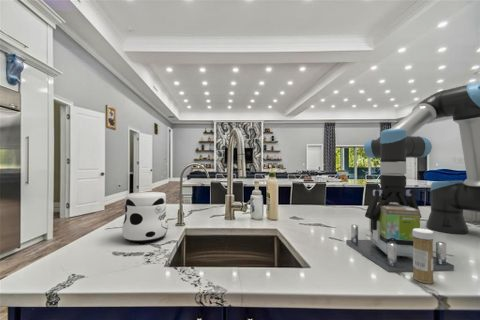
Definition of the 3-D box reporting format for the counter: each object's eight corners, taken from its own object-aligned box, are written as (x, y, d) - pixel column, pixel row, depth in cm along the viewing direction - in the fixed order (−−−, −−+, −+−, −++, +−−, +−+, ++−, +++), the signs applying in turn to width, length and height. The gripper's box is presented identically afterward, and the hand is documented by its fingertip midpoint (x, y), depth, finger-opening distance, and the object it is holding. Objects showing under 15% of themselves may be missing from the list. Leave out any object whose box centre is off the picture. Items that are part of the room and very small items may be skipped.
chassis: (395, 242, 95) (395, 223, 95) (453, 270, 71) (453, 244, 71) (346, 243, 94) (346, 224, 94) (388, 272, 70) (388, 246, 70)
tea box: (421, 258, 74) (421, 209, 74) (385, 255, 76) (385, 208, 76) (399, 242, 89) (398, 201, 89) (369, 240, 91) (369, 200, 91)
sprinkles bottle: (438, 283, 63) (438, 231, 64) (424, 285, 62) (424, 232, 63) (421, 275, 68) (421, 227, 68) (408, 276, 67) (408, 228, 67)
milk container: (176, 238, 99) (176, 194, 100) (133, 249, 87) (134, 198, 87) (155, 229, 111) (155, 190, 111) (115, 238, 99) (115, 194, 99)
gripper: (416, 174, 87) (416, 235, 87) (353, 174, 86) (353, 236, 85) (434, 175, 80) (435, 242, 80) (366, 175, 78) (366, 243, 78)
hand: (392, 239), depth 82 cm, fingers closed on tea box, 11 cm apart
